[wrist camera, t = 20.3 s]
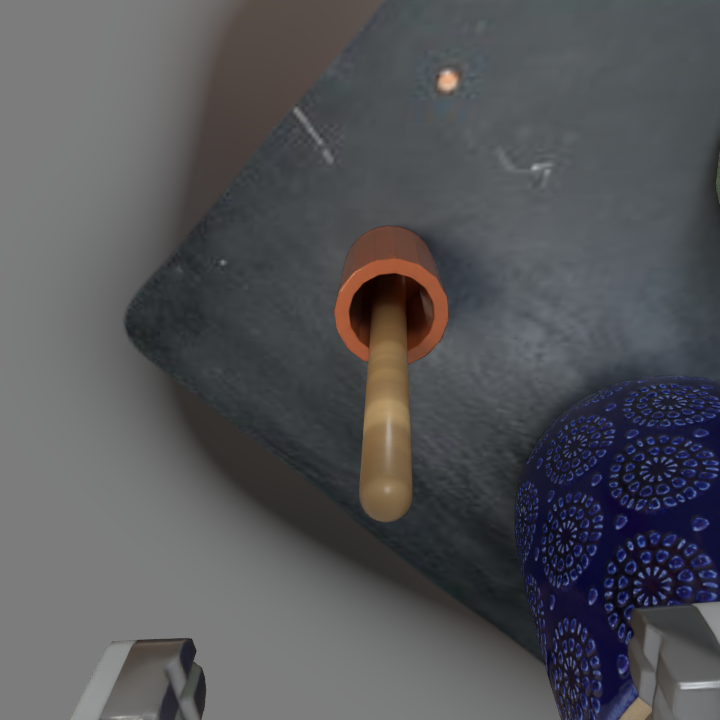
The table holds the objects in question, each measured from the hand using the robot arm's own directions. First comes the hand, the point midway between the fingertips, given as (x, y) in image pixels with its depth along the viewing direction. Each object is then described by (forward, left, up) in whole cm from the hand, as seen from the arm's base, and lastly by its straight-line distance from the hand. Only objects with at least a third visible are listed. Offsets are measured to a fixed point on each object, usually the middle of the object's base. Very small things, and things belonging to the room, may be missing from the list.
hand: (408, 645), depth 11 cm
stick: (0, 0, -26) cm, 26 cm away
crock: (0, 0, -27) cm, 27 cm away
